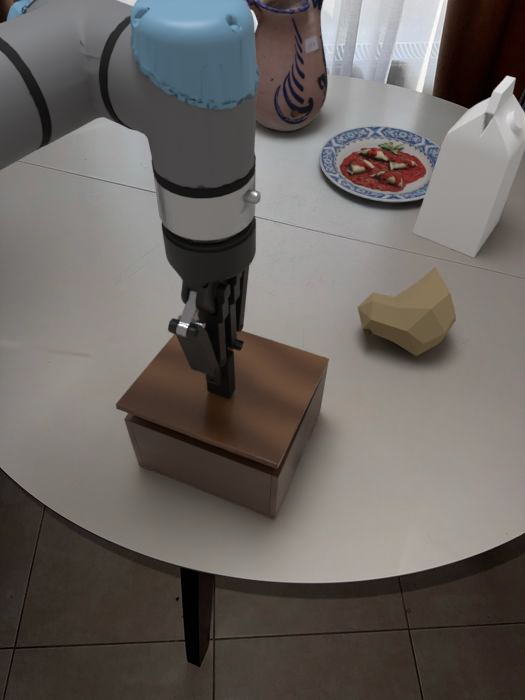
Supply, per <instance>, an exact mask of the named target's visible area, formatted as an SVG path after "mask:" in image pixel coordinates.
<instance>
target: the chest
mask: <svg viewBox="0 0 525 700" xmlns="http://www.w3.org/2000/svg"><path fill="white" fill-rule="evenodd" d="M328 366H329V363H328V364H327V367H326V369H325V371H324V373H323V375H322V377H321V379H320V381H319V383H318V385H317V387H316V389H315V392H314V394H313V396H312V398H311V400H310V402H309V404H308V406H307V408H306V410H305V412H304V414H303V417H302V419H301V421H300V423H299V425H298V427H297V429H296V431H295V433H294V435H293V437H292V440H291V442H290V444H289V446H288V448H287V450H286V452H285V454H284V456H283V458H282V460H281V462H280V465H279V467H278V469H275V468H272V467H270V466H267V465H264V464H262V463H259V462H256V461H254V460H251V459H249V458H248V459H246V458H243V457H240V456H238V455H235V454H232V453H230V452H227V451H224V450H222V449H219V448H216V447H214V446H211V445H209V444H206V443H203V442H201V441H198V440H195V439H193V438H190V437H188V436H187V435H185V434H182V433H180V432H177V431H174V430H172V429H169V428H166V427H164V426H161V425H158V424H156V423H153V422H150V421H148V420H145V419H143V418H140V417H137V416H135V415H132V414H129V413H127V414H126V415H125V416H124V419H123V420H124V423H125V427H126V429H127V433H128V436H129V439H130V444H131V446H132V449H133V452H134V455H135V458H136V461H137V465H138V466H139V467H142V468H145V469H146V470H149V471H152V472H155V473H156V474H159V473H160V475H162V476H165V477H167V478H169V479H172V480H174V481H176V482H179V483H182V484H184V485H186V486H188V487H192V488H194V489H197V490H199V491H202V492H203V493H204V492H205V493H207V494H209V495H211V496H214V497H216V498H219V499H222V500H224V501H226V502H228V503H232V504H234V505H236V506H239V507H242V508H244V509H247V510H248V511H252V512H254V513H257V514H259V515H262V516H264V517H267V518H268V519H269V518H270V519H272V520H274V521H275V520H276V519H277V517H278V514H279V512H280V510H281V507H282V505H283V502H284V500H285V498H286V496H287V493H288V490H289V488H290V486H291V483H292V481H293V478H294V476H295V475H296V471H297V470H298V466H299V464H300V461H301V459H302V457H303V454H304V453H305V449H306V447H307V445H308V442H309V440H310V437H311V435H312V433H313V430H314V428H315V426H316V423H317V420H318V418H319V416H320V414H321V410H322V403H323V397H324V392H325V385H326V379H327V373H328Z"/></svg>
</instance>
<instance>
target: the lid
mask: <svg viewBox="0 0 525 700" xmlns="http://www.w3.org/2000/svg"><path fill="white" fill-rule="evenodd" d="M237 339H238V340H241V341H244V342H243V346H242V349H241V350H240V351H238V350H235V349H233V352H234V368H235V391H234V392H233V394H232V396H231V398H230V399H228V398H225V397H222V396H219V395H217V394H214V393H211V392H208V391H207V382H206V374H204V373H201V372H198V371H196V370H193V369H191V367H190V365H189V363H188V361H187V358H186V356H185V354H184V352H183V350H182V347H181V345H180V343H179V341H178V338H177V336H176V335H175V334H172V336H171V337H170V338H169V339H168V341H167V342H166V343H165V345H163V347H162V348H161V349H160V351H159V352H158V353H157V354H156V355H155V356H154V357H153V359H152V360H151V361H150V362H149V363H148V365H147V366H146V367H145V368H144V370H143V371H142V372H141V373H140V374H139V376H138V377H137V378H136V379H135V380H134V382H133V383H132V384H131V385H130V386H129V387H128V389H127V390H126V391H125V392H124V393H123V394H122V396H121V397H120V398H119V399H118V401H116V402H115V408H116V410H119V411H121V412H124V413H127V414H128V413H129V414H132V415H135V416H137V417H140V418H143V419H145V420H148V421H150V422H153V423H156V424H158V425H161V426H164V427H166V428H169V429H172V430H174V431H177V432H180V433H182V434H185V435H188V436H190V437H193V438H196V439H198V440H201V441H203V442H206V443H209V444H211V445H214V446H217V447H219V448H222V449H225V450H227V451H230V452H233V453H235V454H238V455H241V456H243V457H246V458H249V459H251V460H254V461H256V462H259V463H262V464H264V465H267V466H270V467H272V468H275V469H278V467H279V465H280V462H281V460H282V458H283V456H284V454H285V452H286V450H287V448H288V446H289V444H290V442H291V440H292V437H293V435H294V433H295V431H296V429H297V427H298V425H299V423H300V421H301V419H302V417H303V414H304V412H305V410H306V408H307V406H308V404H309V402H310V400H311V398H312V396H313V394H314V392H315V389H316V387H317V385H318V383H319V381H320V379H321V377H322V375H323V373H324V371H325V369H326V367H327V364H328V365H329V361H330V358H328V357H326V356H322V355H319V354H315V353H313V352H310V351H308V350H307V351H306V350H304V349H300V348H298V347H295V346H291V345H288V344H285V343H282V342H278V341H277V340H276V341H275V340H273V339H270V338H266V337H263V336H260V335H258V334H254V333H251V332H247V331H244V330H243V329H242V330H241V332H237ZM327 368H328V367H327Z"/></svg>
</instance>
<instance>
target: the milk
mask: <svg viewBox="0 0 525 700" xmlns="http://www.w3.org/2000/svg"><path fill="white" fill-rule="evenodd" d="M516 79H517V78H516V77H513V76H510V75H506V76H505V77H504V78H503V80H502V81H500V83H499V84H497V86H496V87H495V88H494V89H493V91H492V93H491V96H490V97H488V98H486V99H483V100H482V101H479V102H478V103H476V104H475V105H473V106H472V107H470V108H469V109H467V110H466V111H465V112H464V114H463V115H462V116H461V117H460V118H459V119H458V120H457V121H456V123H454V124H453V126H452V127H451V128H450V129H449V130H448V131H447V132H446V135H445V137H444V138H443V140H442V144H441V146H440V148H441V149H440V152H439V155H438V158H437V161H436V164H435V167H434V170H433V173H432V176H431V179H430V182H429V185H428V188H427V191H426V194H425V197H424V198H423V200H422V202H421V203H422V204H421V206H420V209H419V211H418V214H417V218H416V221H415V224H414V227H413V230H412V234H415V235H416V236H419V237H421V238H424V239H426V240H428V241H431V242H433V243H435V244H439V245H441V246H443V247H445V248H448V249H451V250H453V251H456V252H458V253H461V254H463V255H465V256H467V257H470V258H472V259H475V258H476V256H477V255H478V253H479V252H480V250H481V249H482V247H483V246H484V244H485V243H486V241H487V240H488V239H489V237H490V235H491V234H492V233H493V231H494V229H495V228H496V227H497V225H498V223H499V222H500V219H501V216H502V214H503V210H504V208H505V205H506V203H507V200H508V197H509V194H510V191H511V188H512V187H513V186H512V185H513V183H514V181H515V178H516V175H517V172H518V169H519V166H520V163H521V162H522V158H523V156H524V152H525V111H524V109H523V107H522V106H521V104H520V103H519V101H518V99H517V98H516V96H515V95H514V89H515V84H516Z"/></svg>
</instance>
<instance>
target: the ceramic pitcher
mask: <svg viewBox="0 0 525 700" xmlns="http://www.w3.org/2000/svg"><path fill="white" fill-rule="evenodd" d="M244 1H245V2H246V3H247V5H248V6H249V8H250V10H251V12H253V14H254V16H255V19H256V21H257V25H256V28H255V45H256V61H257V65H258V69H259V82H258V88H257V103H256V122H258V123H259V124H261V126H264V127H265V128H268V129H270V130H275V131H279V132H280V131H281V132H292V131H298V130H299V129H301V128H303V127H305V126H307V125H308V124H309V123H311V122H312V121H313V120H314V119H315V118H316V117H317V116H318V114H319V113H320V112H321V110H322V108H323V107H324V104H325V101H326V97H327V94H328V84H329V83H328V68H327V59H326V53H325V46H324V39H323V33H322V32H323V31H322V10H323V9H322V8H323V4H324V0H244Z"/></svg>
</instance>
